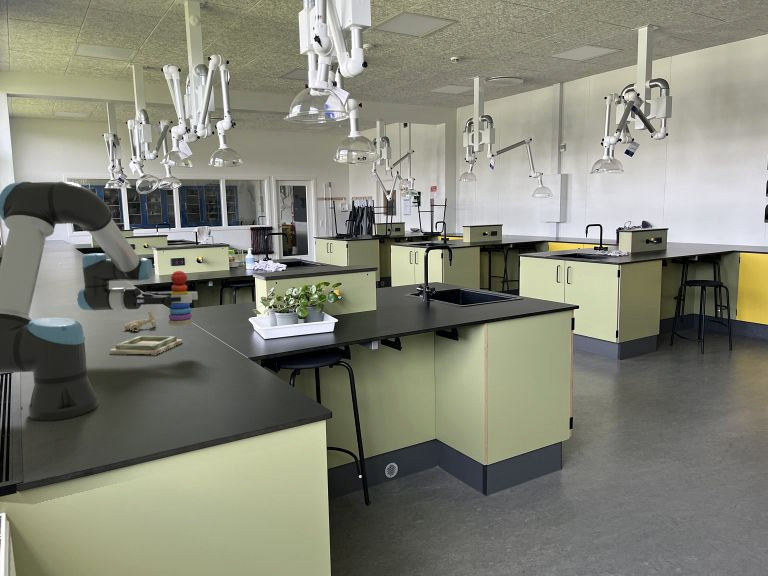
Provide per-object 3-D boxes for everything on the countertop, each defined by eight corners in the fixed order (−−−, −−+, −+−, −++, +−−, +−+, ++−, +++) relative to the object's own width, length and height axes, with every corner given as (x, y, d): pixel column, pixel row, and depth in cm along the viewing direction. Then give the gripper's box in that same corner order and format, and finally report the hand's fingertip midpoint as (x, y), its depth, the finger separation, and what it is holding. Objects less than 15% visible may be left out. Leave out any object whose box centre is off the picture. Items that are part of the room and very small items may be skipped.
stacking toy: (188, 326, 190) (184, 272, 187) (165, 327, 190) (161, 272, 187) (196, 321, 198) (192, 269, 195) (174, 322, 198) (170, 269, 195)
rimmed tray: (155, 355, 195) (155, 346, 195) (109, 354, 198) (108, 345, 198) (182, 343, 213) (182, 335, 213) (139, 342, 216) (139, 334, 216)
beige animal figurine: (155, 324, 248) (159, 330, 240) (126, 333, 243) (129, 340, 234) (150, 308, 246) (154, 314, 237) (121, 317, 240) (123, 323, 232)
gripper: (138, 304, 202) (202, 303, 203) (115, 314, 183) (186, 312, 184) (137, 284, 201) (201, 282, 202) (113, 291, 182) (184, 290, 183)
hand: (194, 297), depth 193 cm, fingers closed on stacking toy, 6 cm apart
